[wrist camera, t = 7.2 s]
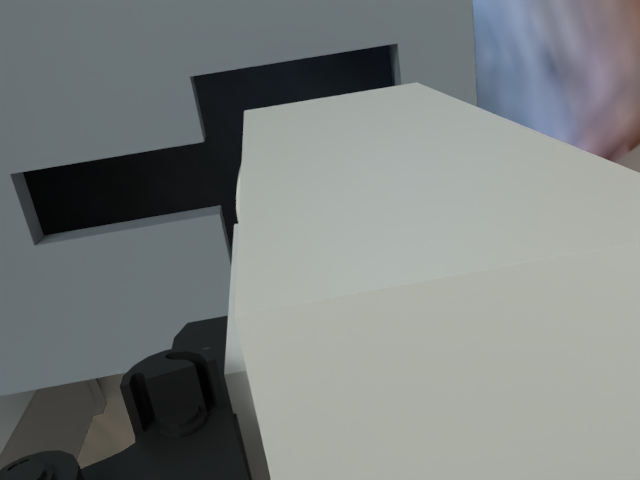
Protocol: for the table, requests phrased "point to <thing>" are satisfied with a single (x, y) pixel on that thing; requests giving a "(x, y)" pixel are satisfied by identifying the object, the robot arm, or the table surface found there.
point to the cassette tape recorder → (48, 419)
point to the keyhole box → (146, 135)
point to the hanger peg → (435, 294)
